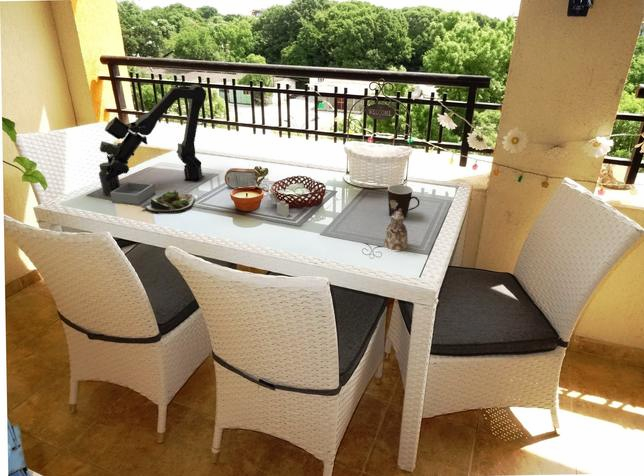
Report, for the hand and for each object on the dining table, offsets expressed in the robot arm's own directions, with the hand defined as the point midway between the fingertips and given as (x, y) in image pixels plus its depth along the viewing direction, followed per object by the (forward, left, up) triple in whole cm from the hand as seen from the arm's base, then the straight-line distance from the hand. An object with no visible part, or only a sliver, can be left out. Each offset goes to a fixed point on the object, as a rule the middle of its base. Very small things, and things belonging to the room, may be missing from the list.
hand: (105, 177), depth 178 cm
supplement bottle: (-1, -1, -7) cm, 7 cm away
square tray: (-12, +2, -7) cm, 14 cm away
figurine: (-116, +19, -7) cm, 118 cm away
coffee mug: (-116, -3, -7) cm, 116 cm away
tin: (-51, -17, -7) cm, 54 cm away
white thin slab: (-73, +4, -7) cm, 73 cm away
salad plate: (-30, +5, -7) cm, 31 cm away
